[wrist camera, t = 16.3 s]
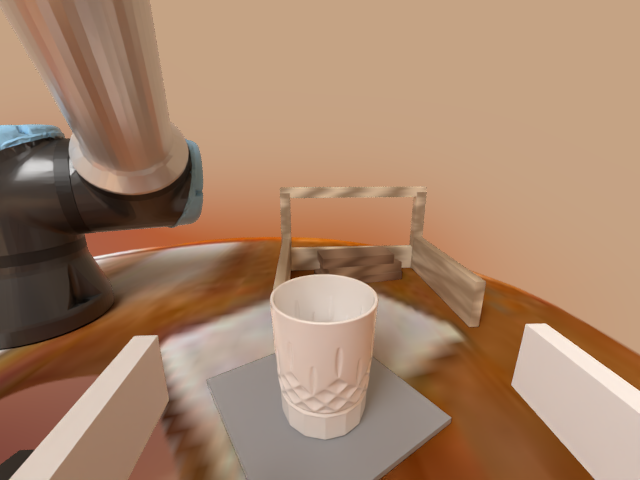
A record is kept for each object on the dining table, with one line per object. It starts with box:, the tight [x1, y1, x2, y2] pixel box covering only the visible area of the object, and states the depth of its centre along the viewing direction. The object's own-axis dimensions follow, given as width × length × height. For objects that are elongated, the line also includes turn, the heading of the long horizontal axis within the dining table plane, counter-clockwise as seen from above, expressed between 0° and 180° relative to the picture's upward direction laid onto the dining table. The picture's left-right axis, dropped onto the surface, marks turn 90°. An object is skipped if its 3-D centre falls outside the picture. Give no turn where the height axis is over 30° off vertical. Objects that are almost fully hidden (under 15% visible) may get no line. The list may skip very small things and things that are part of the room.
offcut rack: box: [273, 187, 486, 327], centre depth 45 cm, size 25×21×15 cm
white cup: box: [270, 274, 378, 440], centre depth 24 cm, size 8×8×10 cm
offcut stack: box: [314, 246, 402, 283], centre depth 51 cm, size 14×6×5 cm, turn 105°
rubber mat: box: [207, 353, 451, 480], centre depth 26 cm, size 15×15×1 cm
